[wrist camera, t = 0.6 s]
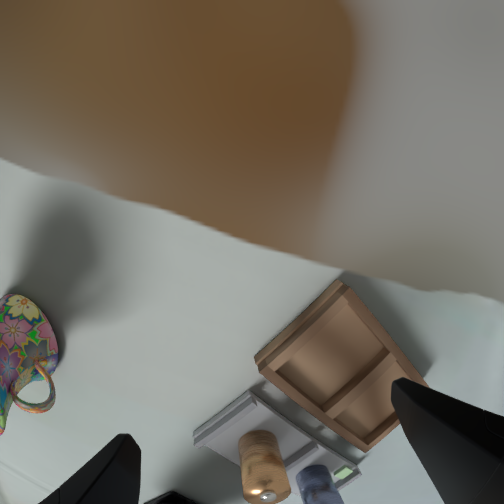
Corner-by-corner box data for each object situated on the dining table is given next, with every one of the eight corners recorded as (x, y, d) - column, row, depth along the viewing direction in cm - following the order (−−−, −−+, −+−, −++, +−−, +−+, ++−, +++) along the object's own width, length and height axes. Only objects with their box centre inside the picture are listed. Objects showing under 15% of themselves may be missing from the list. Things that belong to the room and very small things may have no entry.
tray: (357, 440, 25) (366, 453, 23) (253, 356, 23) (257, 370, 20) (420, 381, 25) (432, 392, 23) (336, 279, 23) (348, 285, 20)
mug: (1, 362, 20) (-58, 405, 10) (-6, 277, 20) (-83, 300, 9) (94, 400, 22) (48, 473, 11) (92, 308, 21) (19, 361, 11)
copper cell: (256, 460, 23) (266, 513, 16) (229, 444, 23) (233, 500, 16) (285, 441, 23) (302, 494, 16) (258, 423, 23) (270, 479, 16)
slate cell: (308, 487, 24) (325, 532, 17) (288, 478, 24) (303, 526, 17) (334, 470, 24) (355, 514, 17) (315, 460, 24) (335, 507, 17)
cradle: (310, 496, 25) (314, 506, 24) (193, 431, 23) (192, 443, 21) (357, 465, 25) (362, 475, 24) (248, 389, 23) (250, 401, 21)
